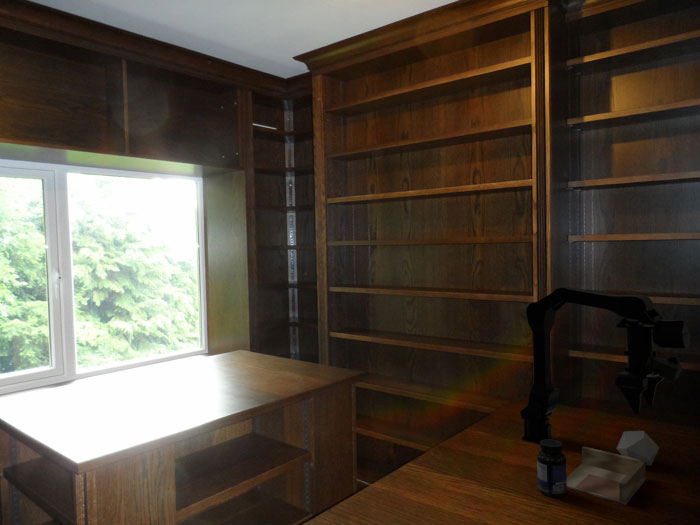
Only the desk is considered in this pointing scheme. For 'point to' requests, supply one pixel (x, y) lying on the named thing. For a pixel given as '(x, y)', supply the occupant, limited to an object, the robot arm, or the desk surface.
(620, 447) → the grey polyhedron
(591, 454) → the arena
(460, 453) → the desk surface
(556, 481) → the pill bottle
